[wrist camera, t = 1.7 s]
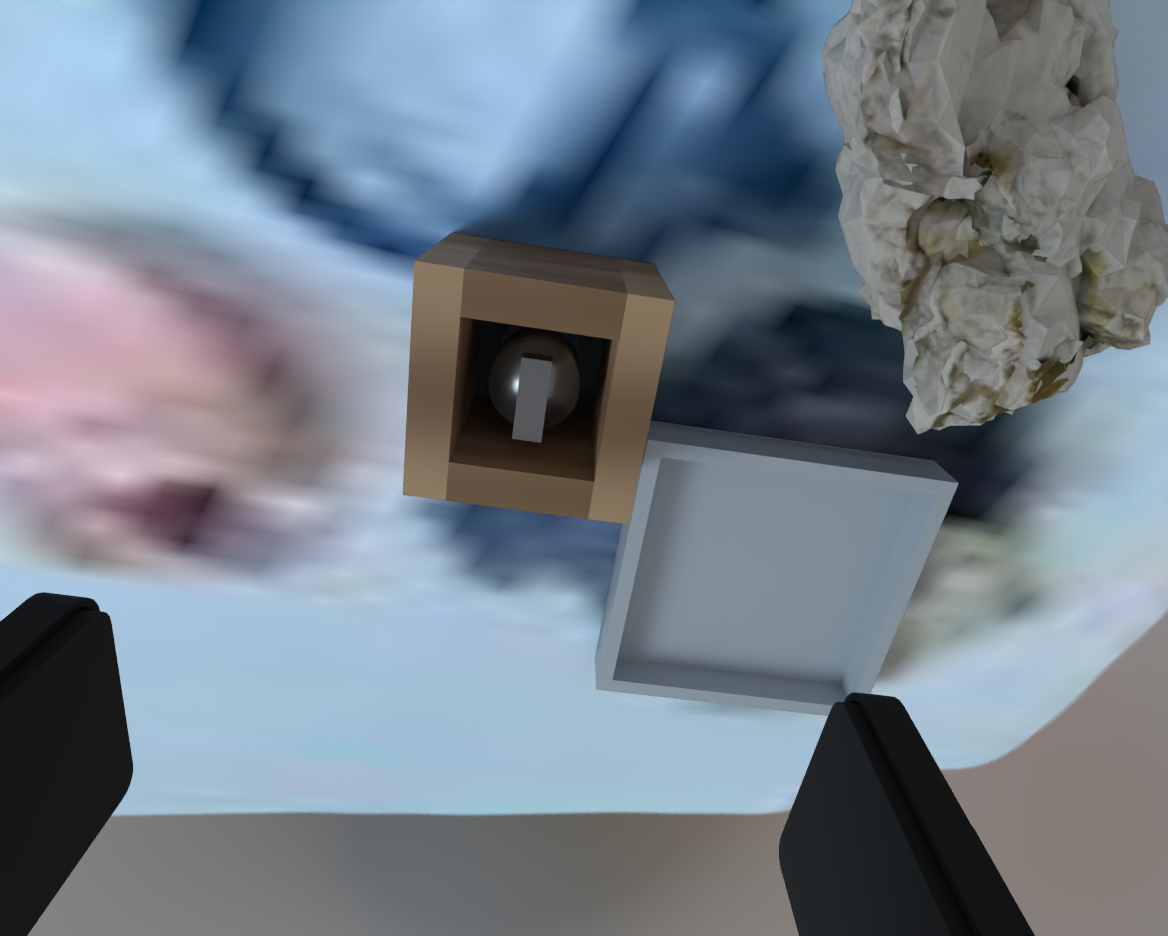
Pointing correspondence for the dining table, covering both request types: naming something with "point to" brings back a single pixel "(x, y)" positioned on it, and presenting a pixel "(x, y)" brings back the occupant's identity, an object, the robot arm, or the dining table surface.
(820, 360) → the dining table surface
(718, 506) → the tray
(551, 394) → the grey rounded cylinder
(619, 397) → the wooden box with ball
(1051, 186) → the rock
